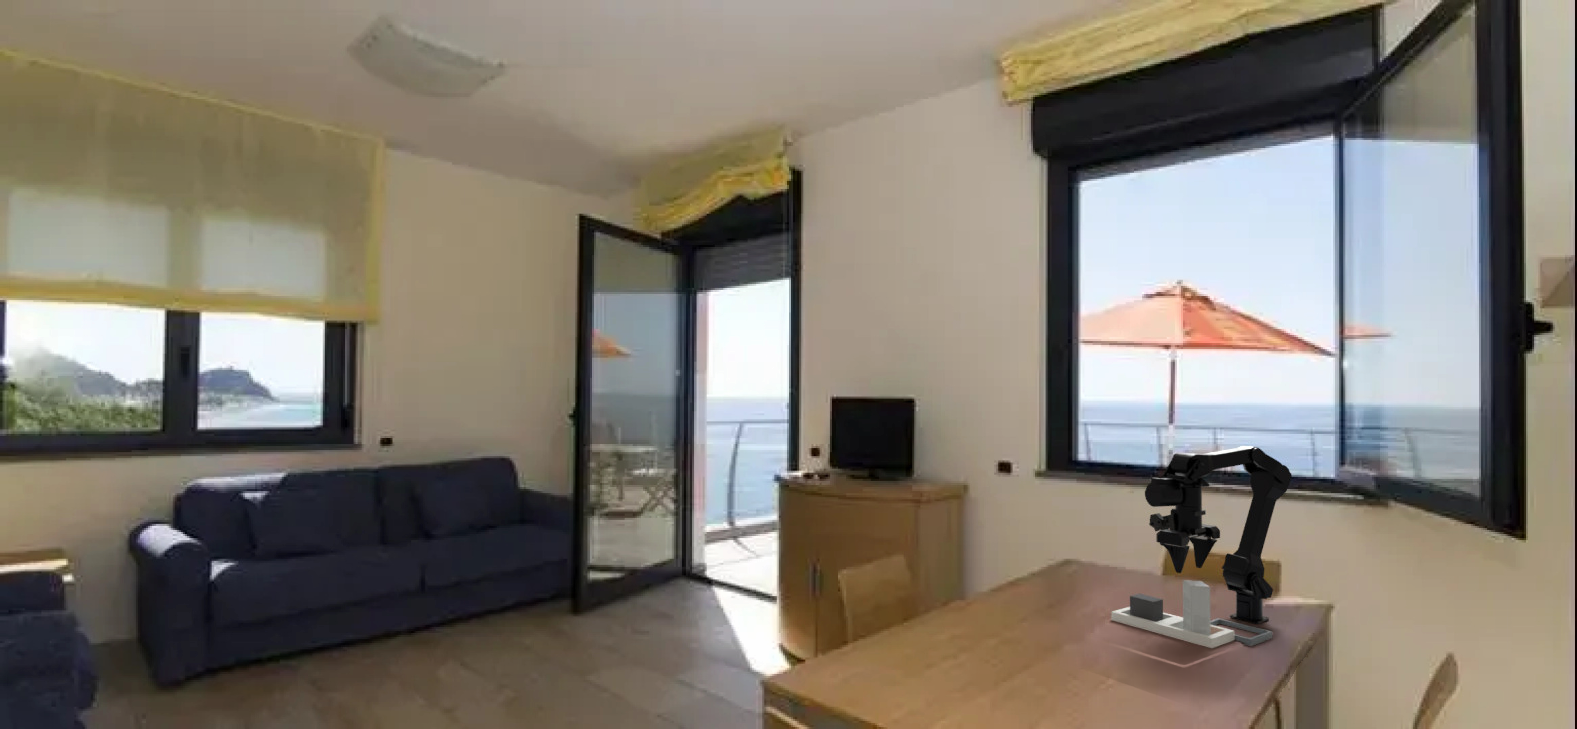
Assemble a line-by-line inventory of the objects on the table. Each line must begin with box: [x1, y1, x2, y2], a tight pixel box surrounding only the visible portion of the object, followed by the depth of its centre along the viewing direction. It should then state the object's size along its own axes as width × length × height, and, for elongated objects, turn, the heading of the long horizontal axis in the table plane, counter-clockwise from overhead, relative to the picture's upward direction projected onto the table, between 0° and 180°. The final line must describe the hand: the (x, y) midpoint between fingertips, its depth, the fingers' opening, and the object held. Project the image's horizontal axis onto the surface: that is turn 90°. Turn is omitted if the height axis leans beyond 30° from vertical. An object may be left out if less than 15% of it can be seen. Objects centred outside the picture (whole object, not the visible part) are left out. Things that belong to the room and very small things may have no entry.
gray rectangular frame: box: [1211, 617, 1273, 647], centre depth 180 cm, size 10×12×2 cm
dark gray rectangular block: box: [1129, 593, 1164, 622], centre depth 187 cm, size 4×6×6 cm, turn 35°
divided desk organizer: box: [1110, 606, 1236, 649], centre depth 182 cm, size 10×24×2 cm, turn 35°
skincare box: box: [1182, 579, 1212, 636], centre depth 177 cm, size 6×4×12 cm
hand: (1188, 570), depth 188 cm, fingers open, 9 cm apart
